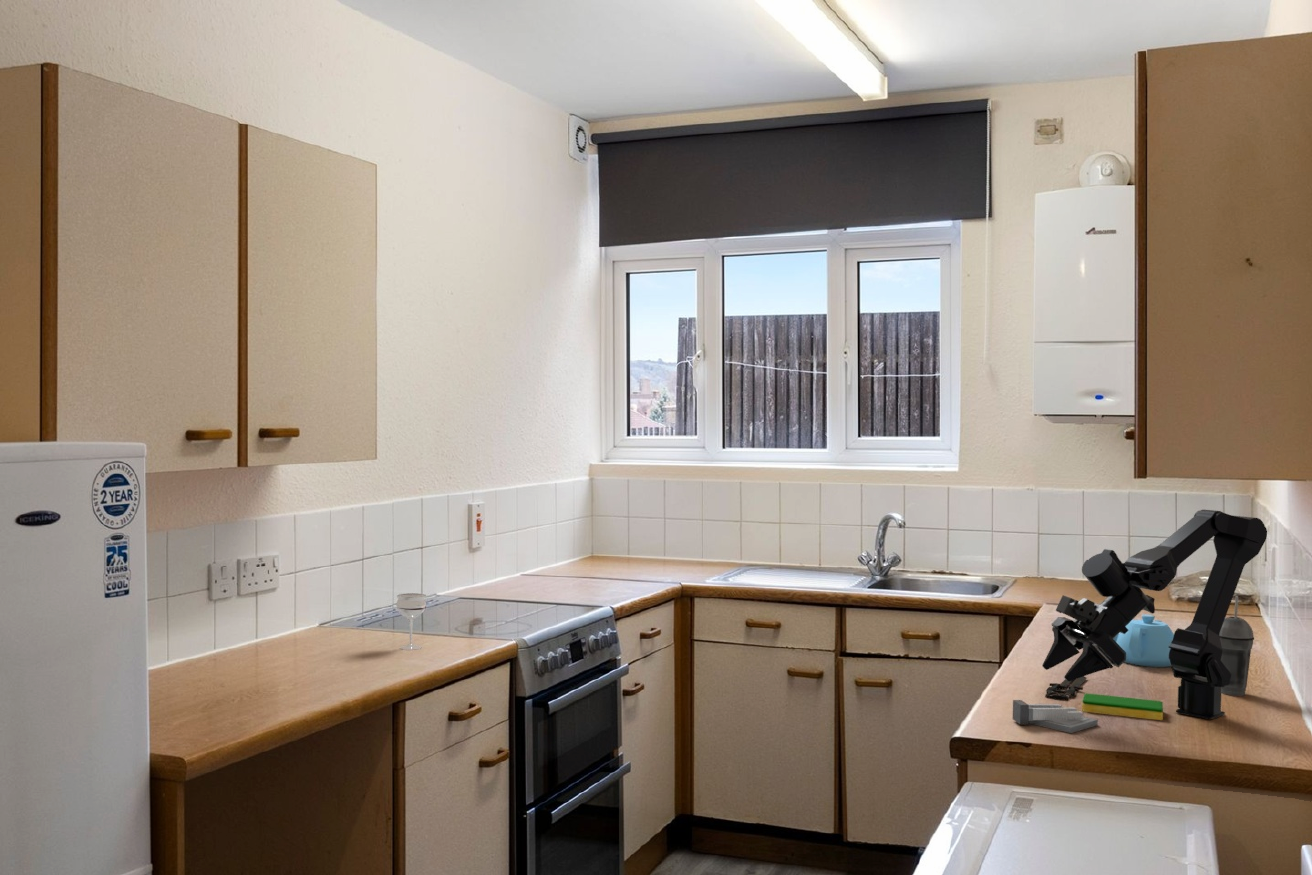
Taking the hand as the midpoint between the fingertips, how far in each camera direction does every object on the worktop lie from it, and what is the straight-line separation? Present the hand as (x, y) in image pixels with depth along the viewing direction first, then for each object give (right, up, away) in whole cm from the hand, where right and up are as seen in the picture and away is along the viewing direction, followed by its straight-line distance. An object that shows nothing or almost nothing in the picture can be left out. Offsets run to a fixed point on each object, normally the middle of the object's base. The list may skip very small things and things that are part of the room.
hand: (1054, 673), depth 203 cm
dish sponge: (+16, -10, +10) cm, 22 cm away
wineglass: (-128, -6, +56) cm, 140 cm away
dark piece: (+13, -10, +30) cm, 34 cm away
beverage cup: (+46, -10, +27) cm, 54 cm away
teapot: (+41, -9, +57) cm, 71 cm away
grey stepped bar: (-7, -7, 0) cm, 10 cm away
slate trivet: (+1, -9, 0) cm, 9 cm away
